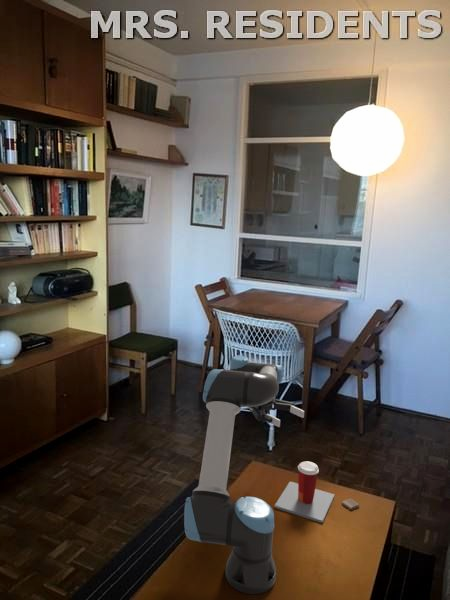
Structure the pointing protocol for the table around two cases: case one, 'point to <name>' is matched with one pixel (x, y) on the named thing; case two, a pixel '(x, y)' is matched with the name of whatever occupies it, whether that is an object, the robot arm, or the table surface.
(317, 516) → the slate board
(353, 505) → the block
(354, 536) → the table surface
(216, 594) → the table surface
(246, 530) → the robot arm
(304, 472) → the paper cup
